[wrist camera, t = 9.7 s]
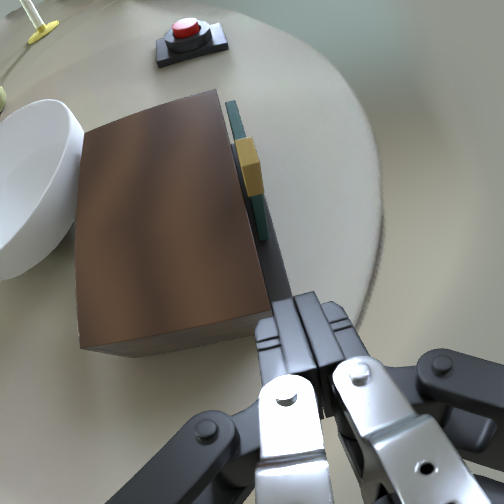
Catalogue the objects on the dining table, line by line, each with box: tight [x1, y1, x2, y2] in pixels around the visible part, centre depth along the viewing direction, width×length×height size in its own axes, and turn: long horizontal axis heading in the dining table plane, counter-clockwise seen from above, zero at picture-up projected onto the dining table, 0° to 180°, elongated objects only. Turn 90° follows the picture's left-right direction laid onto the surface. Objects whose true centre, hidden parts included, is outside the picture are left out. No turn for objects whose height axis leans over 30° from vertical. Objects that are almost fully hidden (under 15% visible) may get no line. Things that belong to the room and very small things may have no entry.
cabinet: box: [75, 89, 294, 358], centre depth 24 cm, size 14×18×8 cm
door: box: [225, 100, 269, 241], centre depth 23 cm, size 1×9×10 cm, turn 12°
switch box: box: [156, 20, 229, 68], centre depth 38 cm, size 10×7×3 cm
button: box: [172, 18, 200, 38], centre depth 36 cm, size 4×4×2 cm
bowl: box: [0, 99, 84, 280], centre depth 28 cm, size 20×20×8 cm
